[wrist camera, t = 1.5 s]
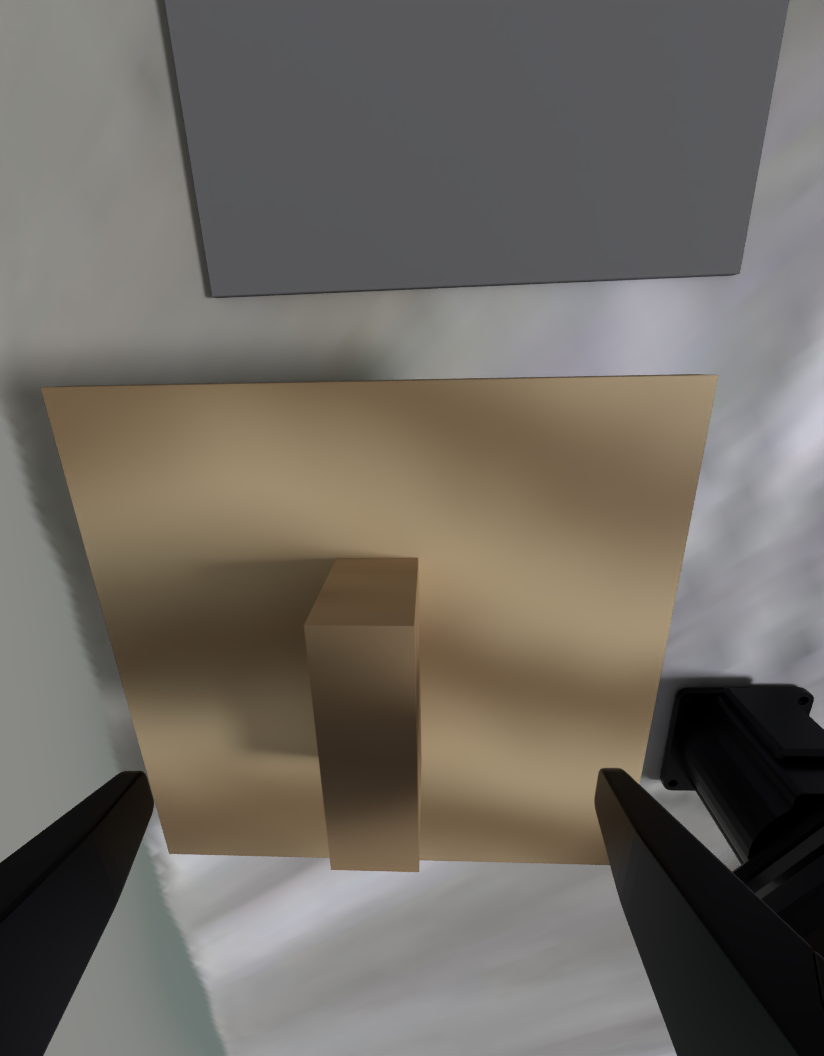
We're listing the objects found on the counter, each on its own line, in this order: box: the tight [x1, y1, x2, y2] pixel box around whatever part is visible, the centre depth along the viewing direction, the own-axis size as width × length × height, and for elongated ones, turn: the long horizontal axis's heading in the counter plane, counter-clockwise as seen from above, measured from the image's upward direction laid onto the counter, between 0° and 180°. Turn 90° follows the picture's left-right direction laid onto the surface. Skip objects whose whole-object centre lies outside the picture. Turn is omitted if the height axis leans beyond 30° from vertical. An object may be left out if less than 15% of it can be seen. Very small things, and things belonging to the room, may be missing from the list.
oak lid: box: [41, 374, 719, 872], centre depth 12 cm, size 16×16×4 cm
